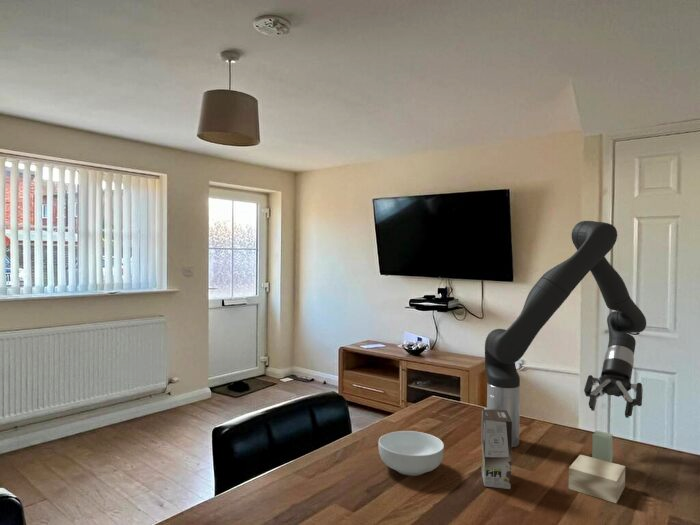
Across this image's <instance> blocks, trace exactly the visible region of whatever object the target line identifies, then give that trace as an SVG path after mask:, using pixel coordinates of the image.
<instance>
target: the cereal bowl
mask: <svg viewBox="0 0 700 525" xmlns="http://www.w3.org/2000/svg"><path fill="white" fill-rule="evenodd" d="M377 441H378V444H377V445H378V446H377V448H378V453H379V456H380V458H381V461H383V463H384V464H385V465H386V466H387V467H389V468H390V469H392V470H395V471H396V472H398V473H399V474H401V475H405V476H408V477H409V476H412V477H415V476H422V475H423V474H426V473H429V472H432V471H433V470H435V469H436V468H438V467H439V466H440V464H441V463H442V462H443V458H444V455H445V444H444V441H442V440H441V439H440V438H439V437H437V436H434V435H433V434H429V433H426V432H421V431H416V430H399V431H398V430H397V431H392V432H388V433H386V434H383V435H382V436H380V437H379V439H378V440H377Z"/></svg>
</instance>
